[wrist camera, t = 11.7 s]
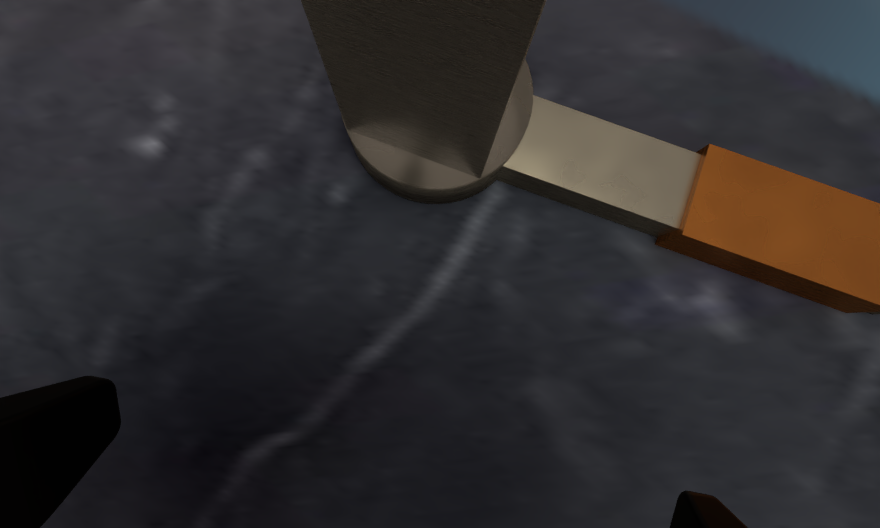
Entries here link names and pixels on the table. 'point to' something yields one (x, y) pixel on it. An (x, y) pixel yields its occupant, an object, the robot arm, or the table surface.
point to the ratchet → (666, 198)
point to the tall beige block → (425, 70)
